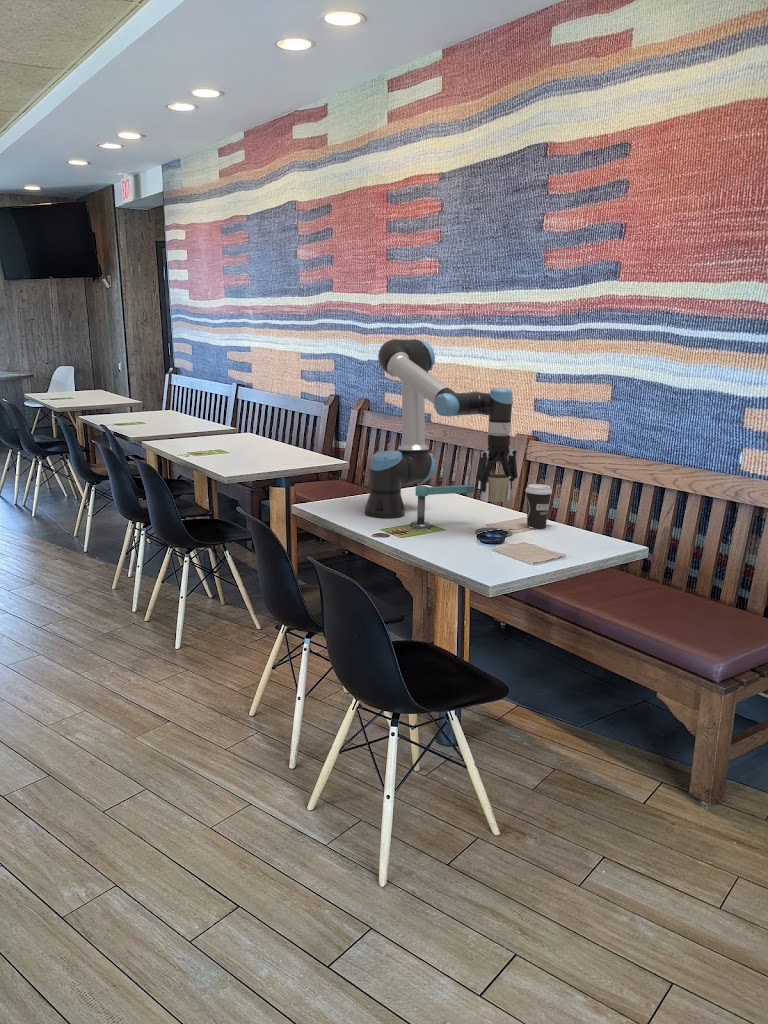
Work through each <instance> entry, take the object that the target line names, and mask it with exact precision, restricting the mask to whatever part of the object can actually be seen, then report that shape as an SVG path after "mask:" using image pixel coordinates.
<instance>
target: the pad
mask: <svg viewBox="0 0 768 1024" xmlns="http://www.w3.org/2000/svg"><path fill="white" fill-rule="evenodd" d="M497 529H500V530H507V531H508V536H507V537H506V538H509V537H511V536H513V531H511V530H509V529H506V528H503V527H502V528H500V527H481V528H477V529H475V530H474V534H476V535H477V534H478V533H481V532H484V531H489V530H497Z"/></svg>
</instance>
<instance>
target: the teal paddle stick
mask: <svg viewBox="0 0 768 1024" xmlns="http://www.w3.org/2000/svg"><path fill="white" fill-rule="evenodd" d="M474 493H475V485H472V484H464V485H444V486H426V485H416V486H415V494H414V495H415V496H416V497H418V496H425V497H428V496H431V495H432V496H433V495H449V494H474Z"/></svg>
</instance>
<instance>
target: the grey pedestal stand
mask: <svg viewBox="0 0 768 1024" xmlns="http://www.w3.org/2000/svg"><path fill="white" fill-rule="evenodd" d="M425 510H426V496H417V515H416V517H417V518H416V520H415V521H412V522H411V523H410V527H411V528H413V527H414V528H413V529H419V530H422V529H424V530H425V529H430V527H431V523H430V522H429V521H425V516H426V515H425V514H426V513H425V512H426V511H425Z"/></svg>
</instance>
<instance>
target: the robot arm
mask: <svg viewBox="0 0 768 1024" xmlns="http://www.w3.org/2000/svg"><path fill="white" fill-rule="evenodd" d="M435 355H436V354H435V352H434V348H433V347H432V346H431V345H430V343H429V342H428V341H427V340H424V339H416V338H415V339H400V338H399V339H397V338H396V339H395V338H393V339H390V340H387V341H386V342H385V343H383V344H382V345H381V346H380V349H379V350H378V355H377V359H378V364H379V366H380V367H381V369H382V370H383V371H384V372H385V373H386V374H388V375H389V376H390V377H397V378H398V379H399V380H400V381H401V427H402V428H401V431H402V435H401V436H402V437H401V438H402V441H401V443H402V444H401V445H400V446H399V447H398V450H382V451H378V452H376V453H374V454H373V455H371V459H370V465H369V471H370V473H369V474H370V476H369V478H370V479H369V495H368V498H367V500H366V504H365V506H364V514H365V515H366V516H369V517H371V518H376V519H377V518H378V519H396V518H401V517H404V516H405V514H406V507H405V505H404V501H403V498H402V492H401V491H402V486H404V485H410V484H421V483H425V482H427V481H429V480H430V479H431V478H432V477H433V475H434V474H435V470H436V461H435V458H434V455H433V454H432V453H431V452H430V448H429V446H427V445H426V443H425V442H426V441H425V440H426V439H425V438H426V436H425V435H426V433H425V430H426V429H425V428H426V426H425V425H426V424H425V417H426V416H425V402H426V401H425V399H426V400H428V401H429V402H430V403H432V404H433V406H434V410H435V412H436V414H438V416H441V417H457V416H468V415H469V416H470V415H481V416H482V415H483V416H488V428H487V429H488V430H487V433H488V435H487V447H488V448H487V449H486V451H485V450H484V451H479V460H478V465H477V466H478V467H477V471H476V472H477V473H476V475H475V480H476V481H479V482H480V492H481V501H483V502H486V503H487V502H489V500H488V492H489V483H488V482H487V480H488V477H489V476H490V474H492V470H493V468H494V467H495V465H496V464H497V463H498V462H499V463H500V464H501V467H502V471H503V473H504V475H506V476H510V477H511V478H510V480H509V482H508V486H507V490H506V495H505V500H508V501H509V500H510V497H511V490H512V488H513V482H514V481H515V479H518V468H517V458H516V457H517V450H513V449H510V445H511V435H510V434H511V431H512V430H511V428H512V411H513V402H514V401H513V390H512V389H510V388H507V387H506V388H505V387H494V388H493V387H492V388H491V389H490V391H489V393H488V392H482V391H480V392H479V391H467V392H456V391H454V390H453V389H451V388H449V387H448V386H447V385H446V384H444V383H443V382H441V381H440V380H438V379H437V378H436V377H434V376H433V375H432V374H431V373H430V372H429V371H431V370H432V368H433V366H434V365H435V362H436V356H435Z"/></svg>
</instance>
